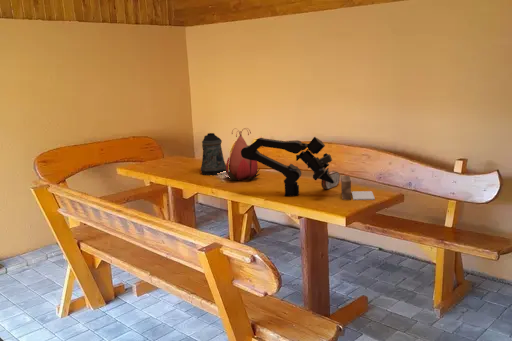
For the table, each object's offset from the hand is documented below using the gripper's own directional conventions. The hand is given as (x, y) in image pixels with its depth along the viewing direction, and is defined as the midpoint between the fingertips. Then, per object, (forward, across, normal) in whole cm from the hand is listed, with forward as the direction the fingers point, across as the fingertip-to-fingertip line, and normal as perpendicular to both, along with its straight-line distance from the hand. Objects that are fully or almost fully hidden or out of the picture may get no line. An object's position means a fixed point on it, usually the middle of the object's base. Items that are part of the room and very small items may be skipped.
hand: (333, 182), depth 236 cm
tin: (+2, +16, +7) cm, 18 cm away
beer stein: (-54, +49, +63) cm, 96 cm away
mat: (+15, +1, -5) cm, 16 cm away
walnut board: (+9, 0, 0) cm, 9 cm away
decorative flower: (-36, +32, +46) cm, 67 cm away
